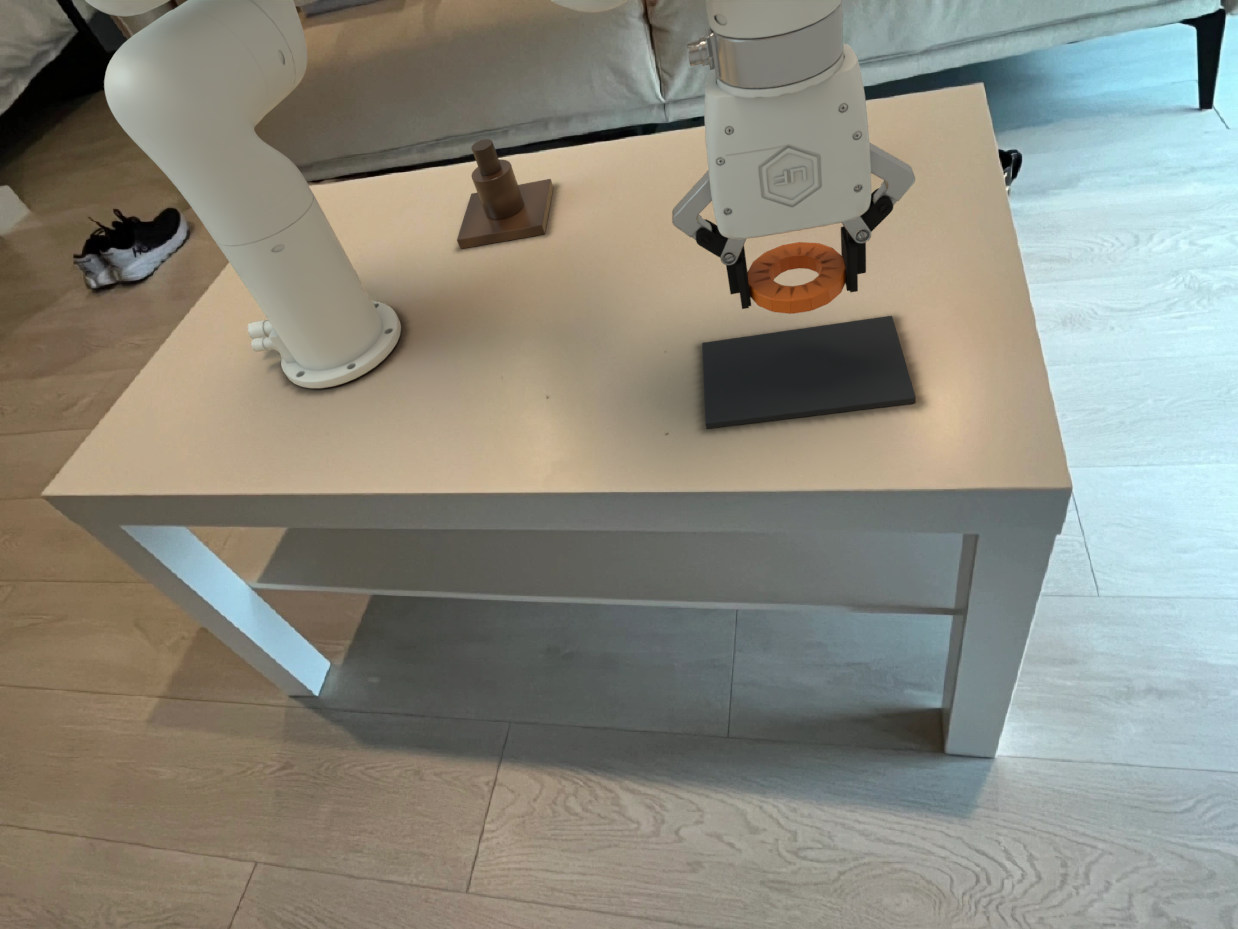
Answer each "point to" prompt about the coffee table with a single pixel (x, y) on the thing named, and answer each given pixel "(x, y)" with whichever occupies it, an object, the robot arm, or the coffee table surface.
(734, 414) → the mat
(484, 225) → the brown stepped peg stand
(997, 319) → the coffee table surface
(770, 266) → the orange flat ring
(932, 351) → the coffee table surface
